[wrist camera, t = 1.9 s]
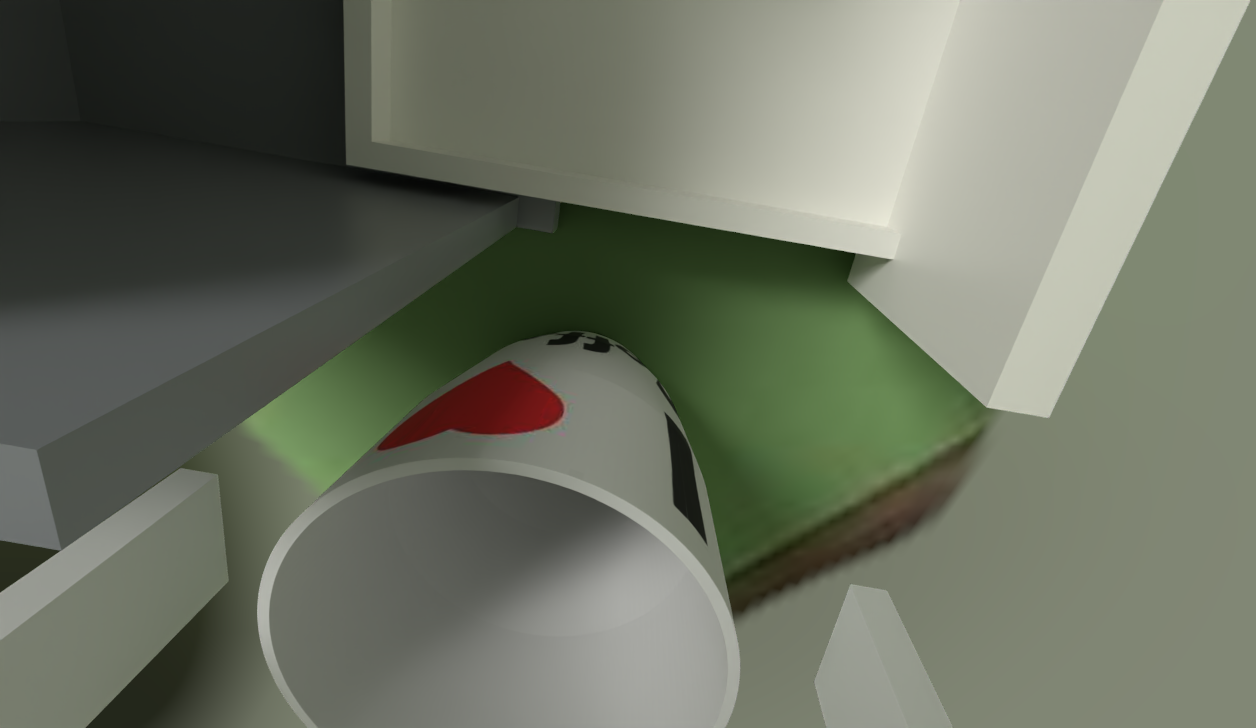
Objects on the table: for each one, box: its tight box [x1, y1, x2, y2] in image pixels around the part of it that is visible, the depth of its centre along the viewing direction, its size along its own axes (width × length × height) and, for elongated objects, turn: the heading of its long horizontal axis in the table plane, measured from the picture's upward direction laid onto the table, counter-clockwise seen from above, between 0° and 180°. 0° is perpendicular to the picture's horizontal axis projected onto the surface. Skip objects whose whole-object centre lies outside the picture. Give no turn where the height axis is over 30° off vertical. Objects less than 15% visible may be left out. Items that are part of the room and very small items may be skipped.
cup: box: [257, 331, 740, 728], centre depth 15 cm, size 8×8×10 cm
